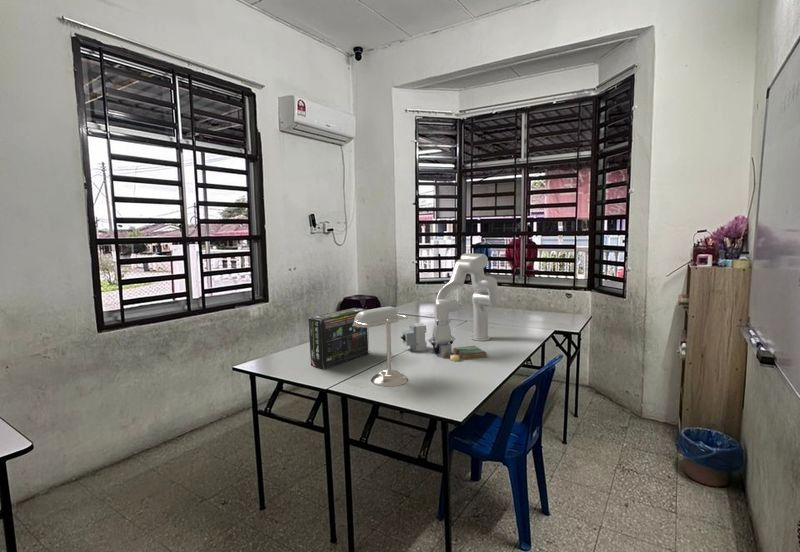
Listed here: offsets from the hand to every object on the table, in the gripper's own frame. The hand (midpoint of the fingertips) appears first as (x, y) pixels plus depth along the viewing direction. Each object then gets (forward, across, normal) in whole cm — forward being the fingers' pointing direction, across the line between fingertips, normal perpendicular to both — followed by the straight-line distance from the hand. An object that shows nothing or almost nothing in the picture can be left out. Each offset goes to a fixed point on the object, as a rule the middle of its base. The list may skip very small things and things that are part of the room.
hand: (442, 352), depth 240 cm
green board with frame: (+1, -15, +5) cm, 16 cm away
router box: (+2, +57, -11) cm, 58 cm away
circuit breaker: (+2, +12, -16) cm, 20 cm away
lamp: (+2, +41, +26) cm, 49 cm away
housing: (+1, 0, 0) cm, 1 cm away
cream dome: (+1, -3, +11) cm, 11 cm away
